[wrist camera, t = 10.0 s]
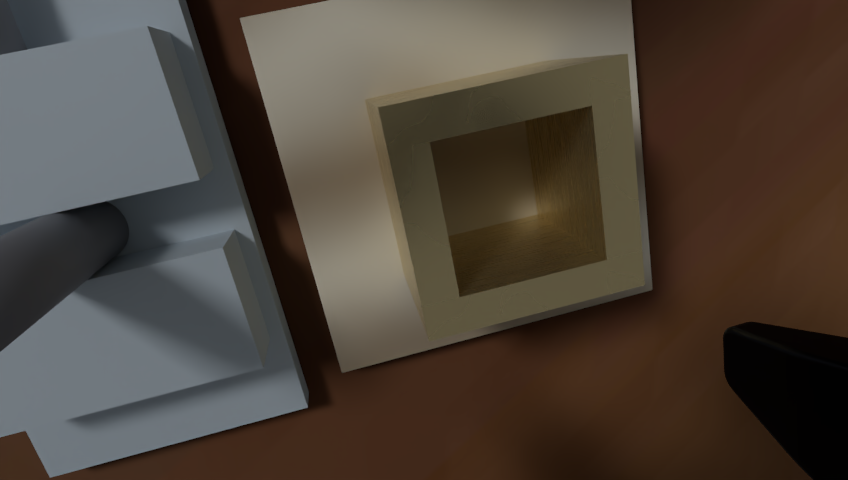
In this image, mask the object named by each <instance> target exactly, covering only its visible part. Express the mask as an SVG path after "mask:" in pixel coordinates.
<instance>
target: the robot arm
mask: <svg viewBox="0 0 848 480" xmlns="http://www.w3.org/2000/svg"><path fill="white" fill-rule="evenodd" d="M723 348H724V372H725V377H726V380H727V382H728V384H729V385H730V387H731V388H732V390H733V391H734V392H735V393H736V394H737V395H738V397H739V398H740V399H741V400H742V401H743V402H744V403H745V405H746V406H747V407H748V408H749V409H750V410H751V412H752V413H753V414H754V415H755V416H756V417H757V418H758V420H759V421H760V422H761V423H762V424H763V425H764V427H765V428H766V429H767V430H768V431H769V432H770V433H771V435H772V436H773V437H774V438H775V439H776V440H777V442H778V443H779V444H780V445H781V446H782V447H783V449H784V450H785V451H786V452H787V453H788V454H789V455H790V456H791V457H792V459H793V460H794V461H795V462H796V463H797V464H798V465H799V466H800V467H801V468H802V469H803V470H804V471H805V472H806V473H807V474H808V475H809V476H810V477H811V478H812V479H813V480H848V338H846V337H840V336H834V335H828V334H822V333H816V332H810V331H804V330H798V329H792V328H786V327H780V326H775V325H769V324H763V323H757V322H746V323H743V324H739V325H736V326H732V327H729V328H727V329H726V330H725V332H724V335H723Z"/></svg>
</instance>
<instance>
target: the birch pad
mask: <svg viewBox="0 0 848 480" xmlns="http://www.w3.org/2000/svg"><path fill="white" fill-rule="evenodd" d="M240 21H241V24H242V28H243V31H244V35H245V38H246V42H247V45H248V49H249V52H250V56H251V59H252V63H253V66H254V70H255V73H256V77H257V80H258V83H259V87H260V90H261V94H262V97H263V101H264V104H265V108H266V111H267V115H268V118H269V122H270V125H271V129H272V132H273V136H274V139H275V143H276V146H277V149H278V153H279V156H280V160H281V163H282V167H283V170H284V174H285V177H286V181H287V184H288V188H289V191H290V195H291V198H292V202H293V205H294V208H295V212H296V215H297V219H298V222H299V226H300V229H301V233H302V236H303V240H304V243H305V247H306V250H307V254H308V257H309V261H310V264H311V268H312V271H313V274H314V278H315V281H316V285H317V288H318V292H319V295H320V299H321V302H322V306H323V309H324V313H325V316H326V320H327V323H328V327H329V330H330V334H331V337H332V340H333V344H334V347H335V351H336V354H337V358H338V361H339V365H340V368H341V372H342V373H344V372H347V371H351V370H355V369H359V368H362V367H366V366H370V365H374V364H377V363H381V362H385V361H389V360H392V359H396V358H400V357H404V356H407V355H411V354H415V353H418V352H422V351H426V350H430V349H433V348H437V347H441V346H445V345H448V344H452V343H456V342H460V341H463V340H467V339H471V338H475V337H478V336H482V335H486V334H490V333H493V332H497V331H501V330H505V329H508V328H512V327H516V326H519V325H523V324H527V323H531V322H534V321H538V320H542V319H546V318H549V317H553V316H557V315H561V314H564V313H568V312H572V311H576V310H579V309H583V308H587V307H591V306H594V305H598V304H602V303H605V302H609V301H613V300H617V299H620V298H624V297H628V296H632V295H635V294H639V293H643V292H647V291H650V290H652V276H651V263H650V249H649V236H648V222H647V209H646V195H645V182H644V168H643V155H642V141H641V128H640V114H639V101H638V87H637V74H636V60H635V47H634V33H633V20H632V6H631V0H329V1H324V2H319V3H314V4H309V5H304V6H299V7H294V8H289V9H284V10H279V11H274V12H269V13H264V14H259V15H254V16H249V17H244V18H240ZM618 54H628V63H629V76H630V90H631V104H632V117H633V131H634V144H635V158H636V171H637V185H638V198H639V212H640V225H641V239H642V252H643V266H644V279H645V285H644V286H640V287H636V288H632V289H628V290H625V291H621V292H617V293H613V294H609V295H606V296H602V297H598V298H594V299H590V300H586V301H583V302H579V303H575V304H571V305H567V306H563V307H560V308H556V309H552V310H548V311H544V312H541V313H537V314H533V315H529V316H525V317H521V318H518V319H514V320H510V321H506V322H502V323H499V324H495V325H491V326H487V327H483V328H479V329H476V330H472V331H468V332H464V333H460V334H456V335H453V336H449V337H445V338H441V339H437V340H434V341H430V342H429V340H428V337H427V334H426V332H425V329H424V326H423V324H422V321H421V318H420V316H419V313H418V310H417V308H416V305H415V302H414V300H413V297H412V295H411V292H410V289H409V287H408V284H407V281H406V279H405V276H404V272H403V268H402V263H401V259H400V254H399V250H398V246H397V241H396V237H395V232H394V228H393V223H392V219H391V214H390V210H389V206H388V201H387V197H386V192H385V188H384V183H383V179H382V175H381V170H380V166H379V161H378V157H377V152H376V148H375V144H374V139H373V135H372V130H371V126H370V121H369V117H368V113H367V108H366V104H365V99H368V98H373V97H378V96H382V95H387V94H392V93H396V92H401V91H406V90H410V89H415V88H420V87H424V86H429V85H434V84H439V83H443V82H448V81H453V80H457V79H462V78H467V77H471V76H476V75H481V74H485V73H490V72H495V71H499V70H504V69H509V68H513V67H518V66H523V65H527V64H532V63H537V62H541V61H546V60H557V59H569V58H581V57H593V56H605V55H618ZM430 146H431V151H432V156H433V161H434V166H435V172H436V177H437V182H438V187H439V192H440V197H441V203H442V208H443V213H444V218H445V223H446V229H447V234H448V236H451V235H455V234H459V233H463V232H467V231H471V230H475V229H479V228H484V227H488V226H492V225H496V224H500V223H504V222H508V221H512V220H517V219H521V218H525V217H529V216H533V215H537V207H536V199H535V192H534V185H533V177H532V170H531V163H530V155H529V148H528V141H527V133H526V126H525V121H521V122H517V123H512V124H508V125H503V126H499V127H494V128H490V129H485V130H481V131H477V132H472V133H468V134H463V135H459V136H454V137H450V138H445V139H441V140H436V141H432V142H430Z"/></svg>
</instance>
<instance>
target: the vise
mask: <svg viewBox="0 0 848 480" xmlns="http://www.w3.org/2000/svg"><path fill="white" fill-rule="evenodd" d="M308 398H309V391H308V388H307V385H306V382H305V378H304V375H303V372H302V369H301V366H300V362H299V359H298V356H297V353H296V350H295V347H294V343H293V340H292V337H291V334H290V331H289V327H288V324H287V321H286V318H285V315H284V312H283V308H282V305H281V302H280V299H279V296H278V292H277V289H276V286H275V283H274V280H273V277H272V273H271V270H270V267H269V264H268V261H267V257H266V254H265V251H264V248H263V245H262V242H261V238H260V235H259V232H258V229H257V226H256V222H255V219H254V216H253V213H252V210H251V207H250V203H249V200H248V197H247V194H246V191H245V187H244V184H243V181H242V178H241V175H240V172H239V168H238V165H237V162H236V159H235V156H234V153H233V149H232V146H231V143H230V140H229V137H228V133H227V130H226V127H225V124H224V121H223V118H222V114H221V111H220V108H219V105H218V102H217V98H216V95H215V92H214V89H213V86H212V83H211V79H210V76H209V73H208V70H207V67H206V63H205V60H204V57H203V54H202V51H201V48H200V44H199V41H198V38H197V35H196V32H195V28H194V25H193V22H192V19H191V16H190V13H189V9H188V6H187V3H186V0H0V437H3V436H7V435H11V434H14V433H18V432H22V431H26V432H27V434H28V436H29V438H30V440H31V442H32V444H33V446H34V448H35V450H36V452H37V454H38V455H39V457H40V459H41V461H42V463H43V465H44V467H45V469H46V471H47V473H48V475H49V477H50V478H51V477H54V476H58V475H62V474H65V473H69V472H73V471H76V470H80V469H84V468H87V467H91V466H95V465H98V464H102V463H106V462H109V461H113V460H117V459H120V458H124V457H128V456H132V455H135V454H139V453H143V452H146V451H150V450H154V449H157V448H161V447H165V446H168V445H172V444H176V443H179V442H183V441H187V440H190V439H194V438H198V437H201V436H205V435H209V434H212V433H216V432H220V431H223V430H227V429H231V428H234V427H238V426H242V425H245V424H249V423H253V422H257V421H260V420H264V419H268V418H271V417H275V416H279V415H282V414H286V413H290V412H293V411H297V410H301V409H304V408H308Z"/></svg>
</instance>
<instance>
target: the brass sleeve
mask: <svg viewBox="0 0 848 480" xmlns="http://www.w3.org/2000/svg"><path fill="white" fill-rule="evenodd" d="M365 104H366V108H367V113H368V117H369V121H370V126H371V130H372V135H373V139H374V144H375V148H376V152H377V157H378V161H379V166H380V170H381V175H382V179H383V183H384V188H385V192H386V197H387V201H388V206H389V210H390V214H391V219H392V223H393V228H394V232H395V237H396V241H397V246H398V250H399V254H400V259H401V263H402V268H403V272H404V276H405V279H406V281H407V284H408V287H409V289H410V292H411V295H412V297H413V300H414V302H415V305H416V308H417V310H418V313H419V316H420V318H421V321H422V324H423V326H424V329H425V332H426V334H427V337H428V340H429V342H430V341H434V340H437V339H441V338H445V337H449V336H453V335H456V334H460V333H464V332H468V331H472V330H476V329H479V328H483V327H487V326H491V325H495V324H499V323H502V322H506V321H510V320H514V319H518V318H521V317H525V316H529V315H533V314H537V313H541V312H544V311H548V310H552V309H556V308H560V307H563V306H567V305H571V304H575V303H579V302H583V301H586V300H590V299H594V298H598V297H602V296H606V295H609V294H613V293H617V292H621V291H625V290H628V289H632V288H636V287H640V286H644V285H645V279H644V266H643V252H642V239H641V225H640V212H639V198H638V185H637V171H636V158H635V144H634V131H633V117H632V104H631V90H630V76H629V63H628V54H618V55H605V56H593V57H581V58H569V59H557V60H546V61H541V62H537V63H532V64H527V65H523V66H518V67H513V68H509V69H504V70H499V71H495V72H490V73H485V74H481V75H476V76H471V77H467V78H462V79H457V80H453V81H448V82H443V83H439V84H434V85H429V86H424V87H420V88H415V89H410V90H406V91H401V92H396V93H392V94H387V95H382V96H378V97H373V98H368V99H365ZM521 121H525V126H526V133H527V141H528V148H529V155H530V163H531V170H532V177H533V185H534V192H535V199H536V207H537V215H533V216H529V217H525V218H521V219H517V220H512V221H508V222H504V223H500V224H496V225H492V226H488V227H484V228H479V229H475V230H471V231H467V232H463V233H459V234H455V235H451V236H448V234H447V229H446V223H445V218H444V213H443V208H442V203H441V197H440V192H439V187H438V182H437V177H436V172H435V166H434V161H433V156H432V151H431V146H430V142H432V141H436V140H441V139H445V138H450V137H454V136H459V135H463V134H468V133H472V132H477V131H481V130H485V129H490V128H494V127H499V126H503V125H508V124H512V123H517V122H521Z"/></svg>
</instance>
